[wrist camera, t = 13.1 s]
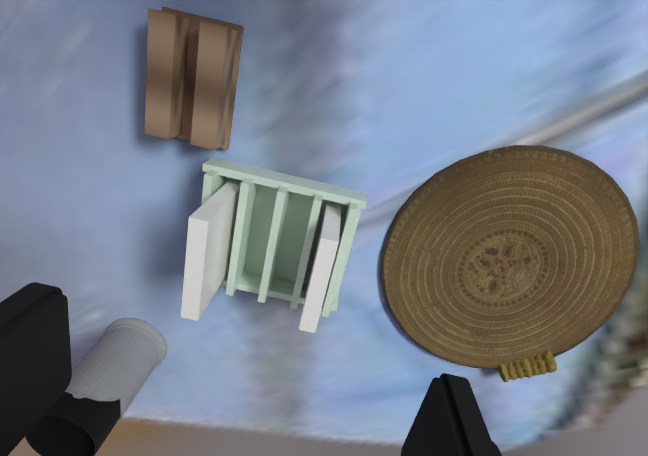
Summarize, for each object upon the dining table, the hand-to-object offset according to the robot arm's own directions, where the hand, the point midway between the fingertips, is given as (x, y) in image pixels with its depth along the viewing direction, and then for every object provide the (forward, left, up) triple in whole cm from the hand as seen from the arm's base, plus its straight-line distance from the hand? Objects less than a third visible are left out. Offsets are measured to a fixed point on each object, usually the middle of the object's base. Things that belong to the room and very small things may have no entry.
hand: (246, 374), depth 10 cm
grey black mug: (+36, -20, -34) cm, 53 cm away
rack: (+11, -3, -33) cm, 35 cm away
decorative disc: (+10, +24, -34) cm, 43 cm away
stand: (-3, -14, -33) cm, 36 cm away
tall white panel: (+11, -8, -32) cm, 35 cm away
